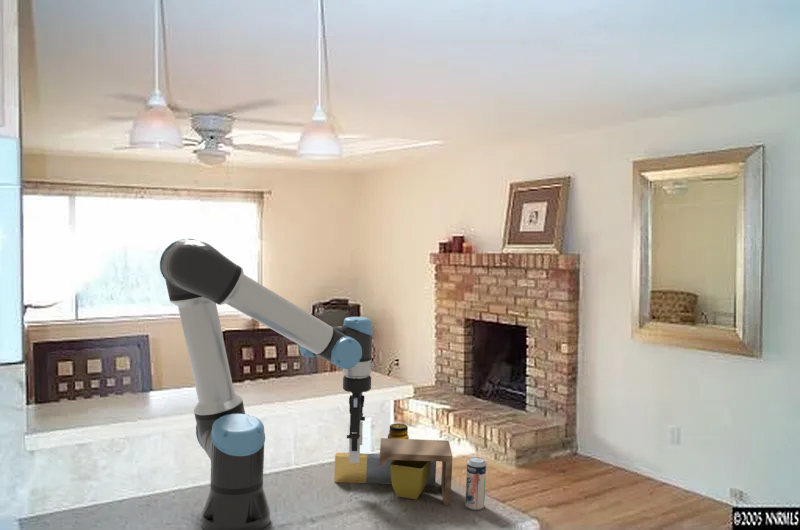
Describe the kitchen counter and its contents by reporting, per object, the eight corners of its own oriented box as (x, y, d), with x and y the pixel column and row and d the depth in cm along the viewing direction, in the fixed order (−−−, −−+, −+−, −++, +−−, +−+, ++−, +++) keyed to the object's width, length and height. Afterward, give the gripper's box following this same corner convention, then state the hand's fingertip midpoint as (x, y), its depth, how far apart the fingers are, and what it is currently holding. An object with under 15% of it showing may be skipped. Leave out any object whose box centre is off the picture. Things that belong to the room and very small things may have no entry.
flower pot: (421, 504, 166) (422, 469, 165) (388, 498, 168) (389, 463, 168) (430, 491, 174) (432, 457, 174) (398, 486, 177) (400, 453, 176)
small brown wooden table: (378, 502, 166) (379, 453, 165) (379, 484, 178) (380, 438, 177) (450, 505, 166) (452, 455, 165) (446, 486, 178) (448, 440, 177)
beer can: (461, 504, 166) (463, 457, 166) (477, 501, 168) (479, 455, 168) (471, 512, 162) (473, 463, 161) (488, 509, 164) (490, 461, 163)
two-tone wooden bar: (334, 482, 178) (335, 456, 178) (335, 477, 181) (336, 452, 181) (435, 485, 178) (436, 459, 178) (434, 481, 181) (435, 456, 181)
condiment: (413, 468, 190) (415, 427, 190) (388, 473, 186) (390, 431, 185) (399, 460, 196) (401, 420, 196) (374, 465, 192) (376, 424, 191)
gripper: (369, 386, 166) (367, 470, 167) (372, 365, 190) (371, 438, 192) (339, 386, 165) (337, 470, 167) (346, 364, 190) (345, 437, 192)
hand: (355, 453), depth 179 cm, fingers open, 13 cm apart
